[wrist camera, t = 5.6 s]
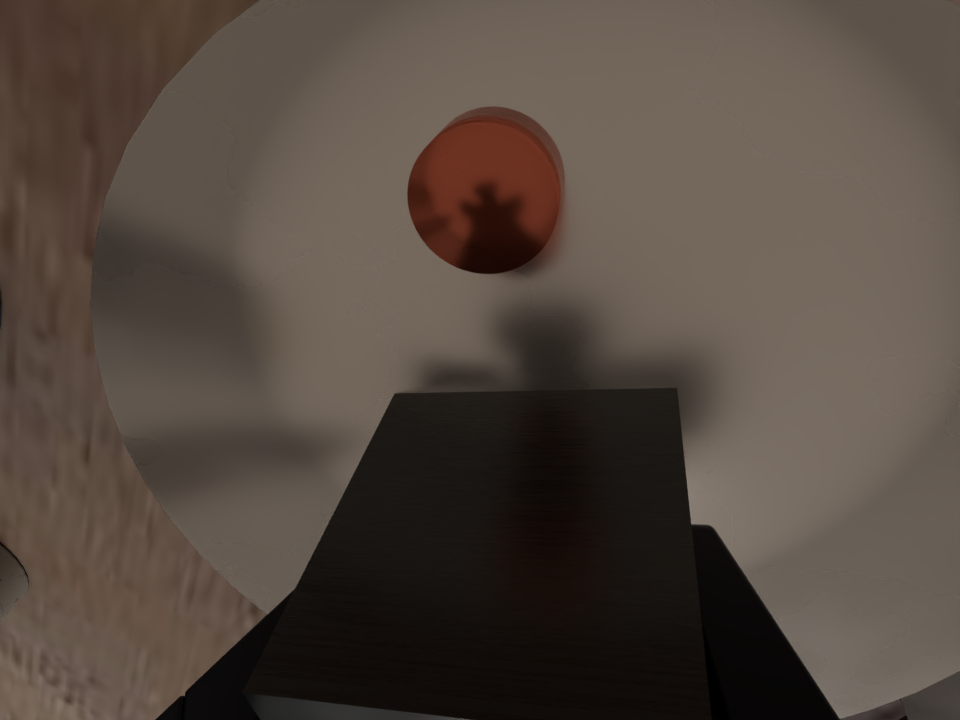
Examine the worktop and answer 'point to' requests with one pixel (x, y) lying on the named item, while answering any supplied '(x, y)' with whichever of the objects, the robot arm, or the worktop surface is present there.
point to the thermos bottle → (10, 582)
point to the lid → (551, 343)
